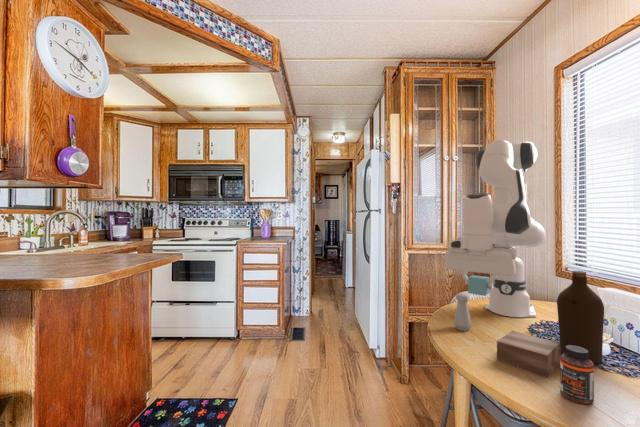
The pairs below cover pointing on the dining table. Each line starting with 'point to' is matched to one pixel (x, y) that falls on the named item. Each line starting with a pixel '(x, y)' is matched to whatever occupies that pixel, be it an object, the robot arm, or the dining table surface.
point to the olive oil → (581, 317)
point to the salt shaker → (462, 313)
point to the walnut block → (529, 353)
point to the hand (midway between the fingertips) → (478, 286)
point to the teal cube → (478, 285)
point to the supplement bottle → (577, 375)
